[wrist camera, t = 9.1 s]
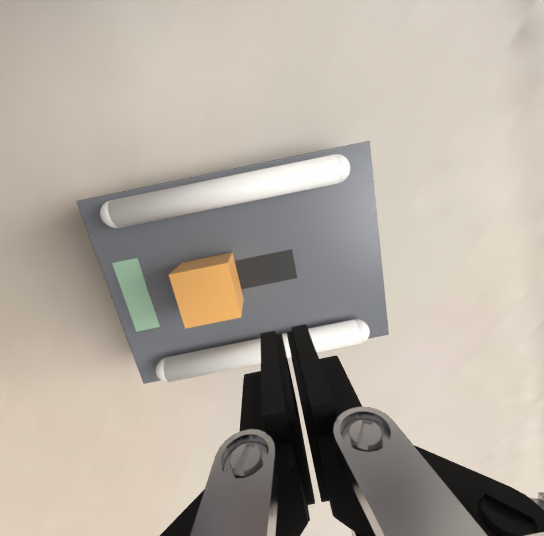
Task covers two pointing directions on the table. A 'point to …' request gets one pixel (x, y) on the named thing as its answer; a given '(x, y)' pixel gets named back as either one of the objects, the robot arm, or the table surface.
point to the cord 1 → (225, 191)
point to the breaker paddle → (207, 290)
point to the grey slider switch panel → (249, 261)
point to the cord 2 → (255, 351)
